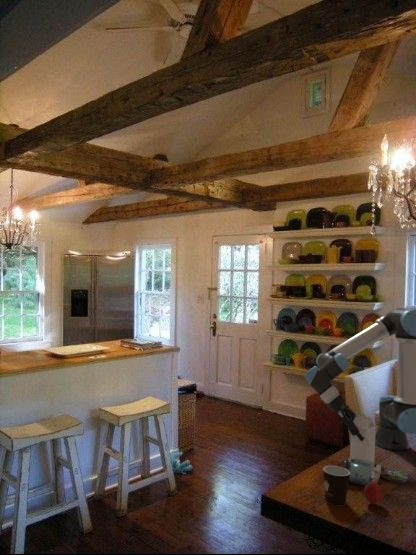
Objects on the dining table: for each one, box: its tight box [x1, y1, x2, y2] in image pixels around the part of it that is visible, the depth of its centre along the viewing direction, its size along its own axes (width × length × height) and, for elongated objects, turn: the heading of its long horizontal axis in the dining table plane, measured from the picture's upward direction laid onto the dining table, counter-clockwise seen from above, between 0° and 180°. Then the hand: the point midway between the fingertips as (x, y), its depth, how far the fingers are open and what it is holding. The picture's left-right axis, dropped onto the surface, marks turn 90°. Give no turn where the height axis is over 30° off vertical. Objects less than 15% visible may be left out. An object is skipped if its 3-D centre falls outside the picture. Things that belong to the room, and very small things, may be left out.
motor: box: [342, 457, 382, 486], centre depth 167 cm, size 19×12×8 cm, turn 152°
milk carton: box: [349, 413, 376, 463], centre depth 185 cm, size 7×7×19 cm
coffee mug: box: [322, 465, 350, 506], centre depth 148 cm, size 12×9×10 cm
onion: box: [363, 480, 384, 505], centre depth 145 cm, size 6×6×8 cm
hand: (370, 443), depth 183 cm, fingers closed on milk carton, 9 cm apart
